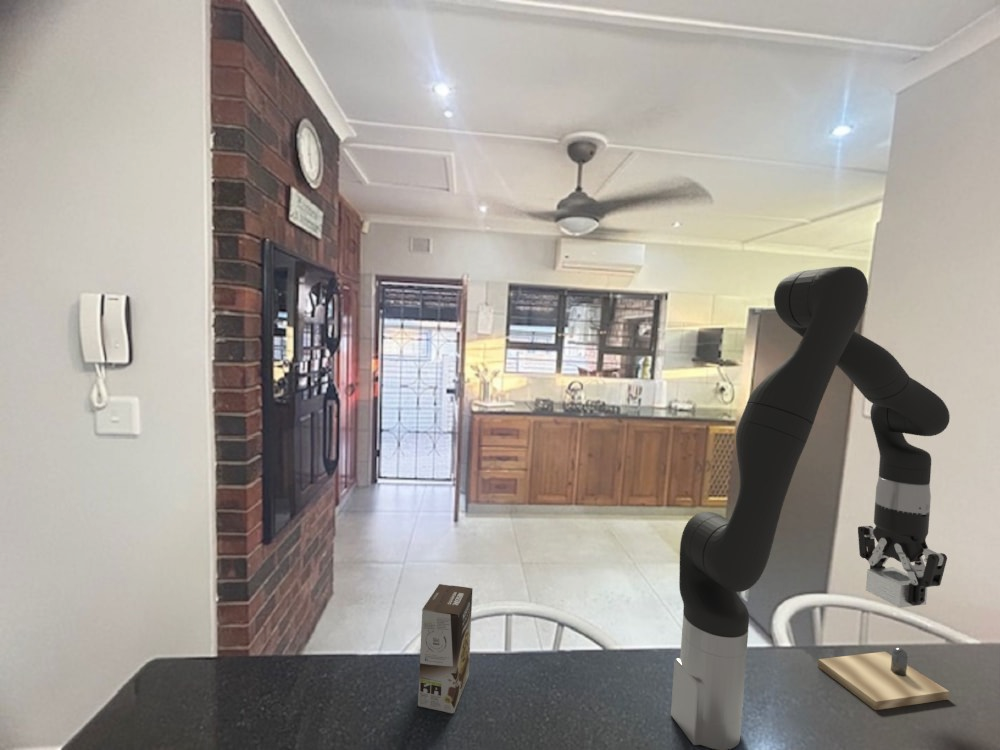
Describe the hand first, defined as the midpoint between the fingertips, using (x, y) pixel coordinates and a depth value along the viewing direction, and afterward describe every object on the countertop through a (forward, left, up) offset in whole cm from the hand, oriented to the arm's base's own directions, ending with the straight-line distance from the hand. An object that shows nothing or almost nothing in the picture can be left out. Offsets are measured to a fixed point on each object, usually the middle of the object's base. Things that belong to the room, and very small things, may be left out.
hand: (895, 594), depth 85 cm
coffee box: (-81, +10, -17) cm, 83 cm away
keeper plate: (-2, 0, -16) cm, 17 cm away
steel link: (0, 0, -1) cm, 1 cm away
